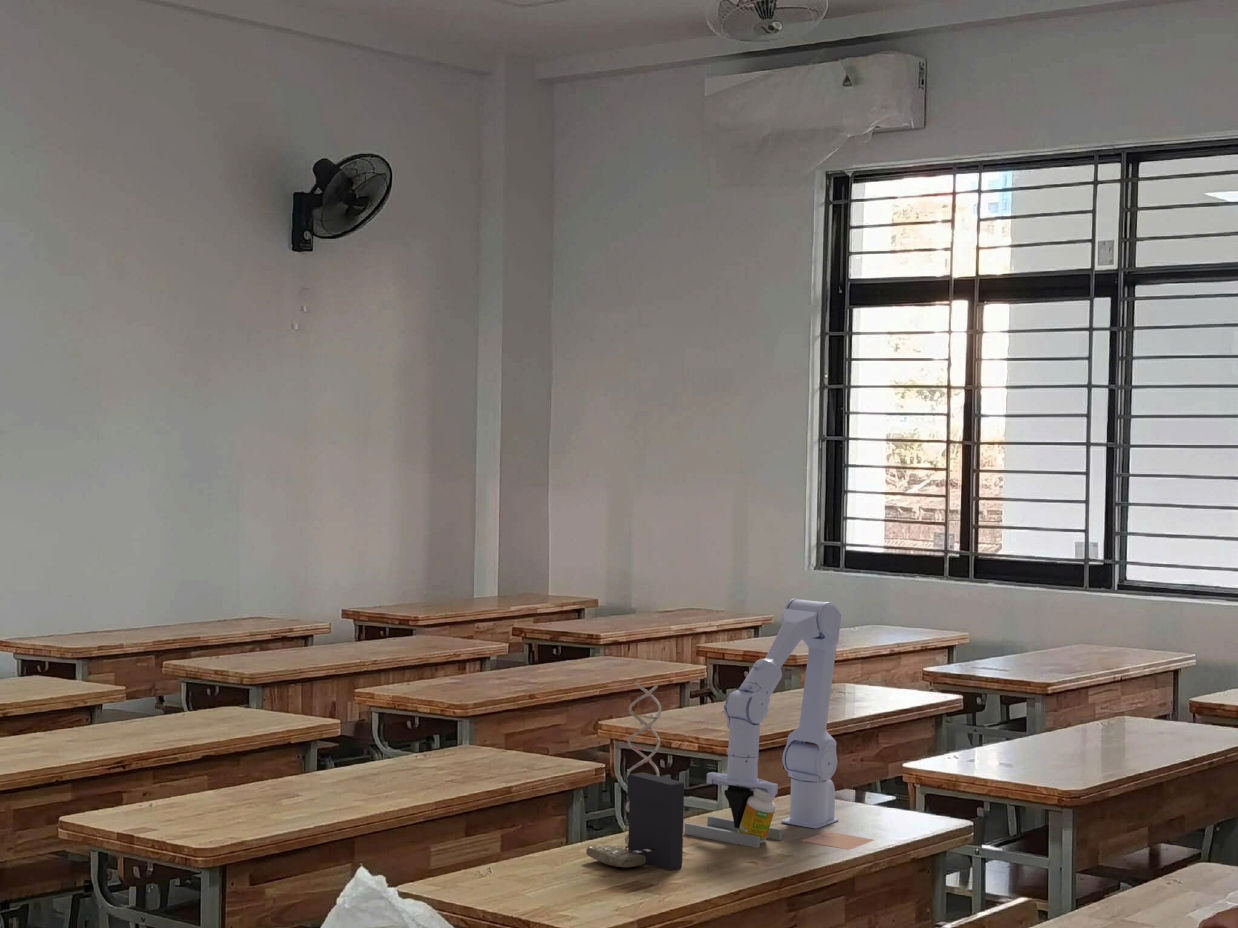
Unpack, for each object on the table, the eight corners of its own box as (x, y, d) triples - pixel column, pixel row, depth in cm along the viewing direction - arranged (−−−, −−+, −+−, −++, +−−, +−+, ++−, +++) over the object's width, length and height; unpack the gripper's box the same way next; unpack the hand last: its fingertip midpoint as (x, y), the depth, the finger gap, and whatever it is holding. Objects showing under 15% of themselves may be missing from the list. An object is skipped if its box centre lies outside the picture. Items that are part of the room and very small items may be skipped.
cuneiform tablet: (631, 852, 264) (586, 838, 273) (630, 875, 264) (584, 859, 273) (656, 849, 268) (610, 834, 277) (655, 871, 268) (609, 856, 277)
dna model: (665, 848, 283) (670, 683, 283) (642, 854, 279) (647, 687, 279) (638, 841, 288) (643, 679, 288) (615, 847, 283) (620, 682, 283)
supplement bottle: (746, 843, 287) (761, 795, 286) (732, 829, 292) (746, 782, 290) (770, 844, 290) (785, 796, 288) (756, 830, 295) (770, 783, 293)
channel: (710, 825, 302) (710, 815, 302) (781, 839, 293) (782, 828, 293) (684, 833, 295) (684, 823, 295) (757, 848, 286) (757, 837, 286)
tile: (827, 832, 299) (827, 830, 299) (874, 841, 293) (874, 839, 293) (801, 842, 291) (801, 840, 291) (849, 851, 285) (849, 849, 285)
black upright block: (685, 867, 270) (687, 781, 270) (667, 871, 267) (669, 784, 267) (642, 854, 278) (645, 771, 278) (624, 858, 276) (627, 773, 275)
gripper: (699, 751, 294) (695, 823, 293) (765, 762, 285) (761, 837, 285) (719, 747, 299) (715, 818, 299) (784, 758, 291) (781, 831, 290)
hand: (739, 827), depth 292 cm, fingers closed, pressing on supplement bottle
